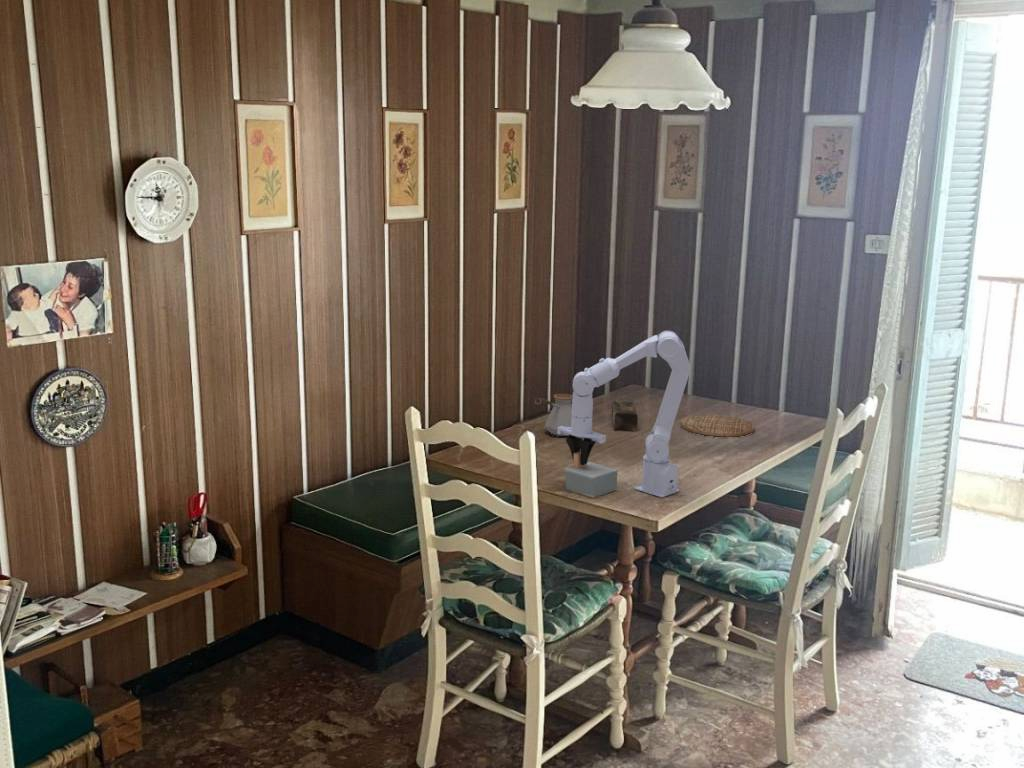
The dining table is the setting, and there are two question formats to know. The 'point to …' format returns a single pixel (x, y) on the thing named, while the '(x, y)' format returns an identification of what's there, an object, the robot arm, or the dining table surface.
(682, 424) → the trivet
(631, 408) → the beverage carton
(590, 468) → the lid
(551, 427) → the coffee pot
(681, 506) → the dining table surface
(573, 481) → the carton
